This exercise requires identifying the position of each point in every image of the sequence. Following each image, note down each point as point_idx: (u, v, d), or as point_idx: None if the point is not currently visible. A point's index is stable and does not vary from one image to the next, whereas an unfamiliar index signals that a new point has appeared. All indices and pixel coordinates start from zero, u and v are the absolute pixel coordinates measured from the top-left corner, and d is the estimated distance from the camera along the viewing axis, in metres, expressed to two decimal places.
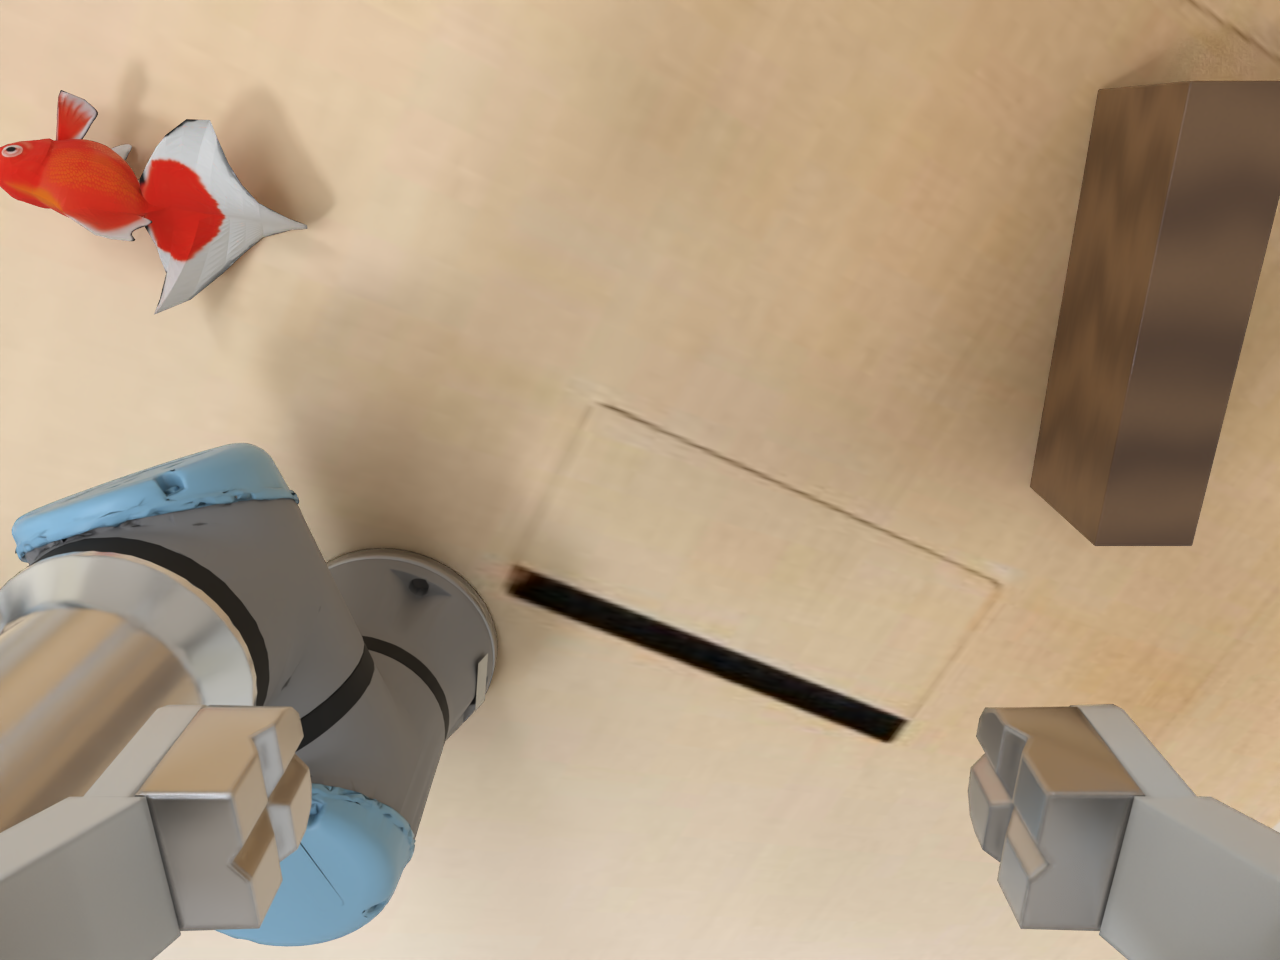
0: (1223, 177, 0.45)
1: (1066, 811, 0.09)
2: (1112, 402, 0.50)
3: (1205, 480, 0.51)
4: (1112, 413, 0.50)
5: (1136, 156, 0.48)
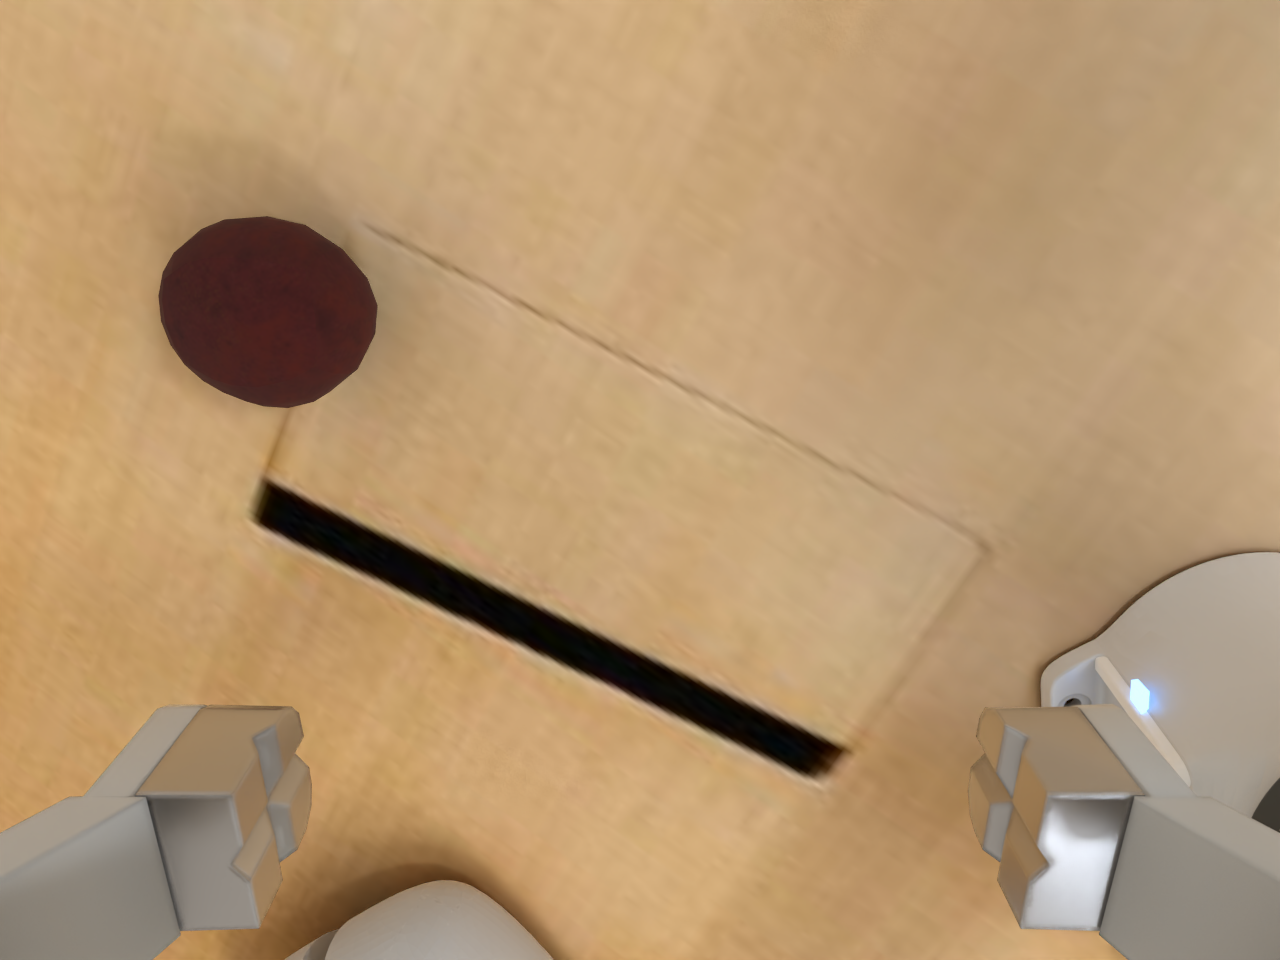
0: None
1: (1066, 811, 0.09)
2: None
3: None
4: None
5: None
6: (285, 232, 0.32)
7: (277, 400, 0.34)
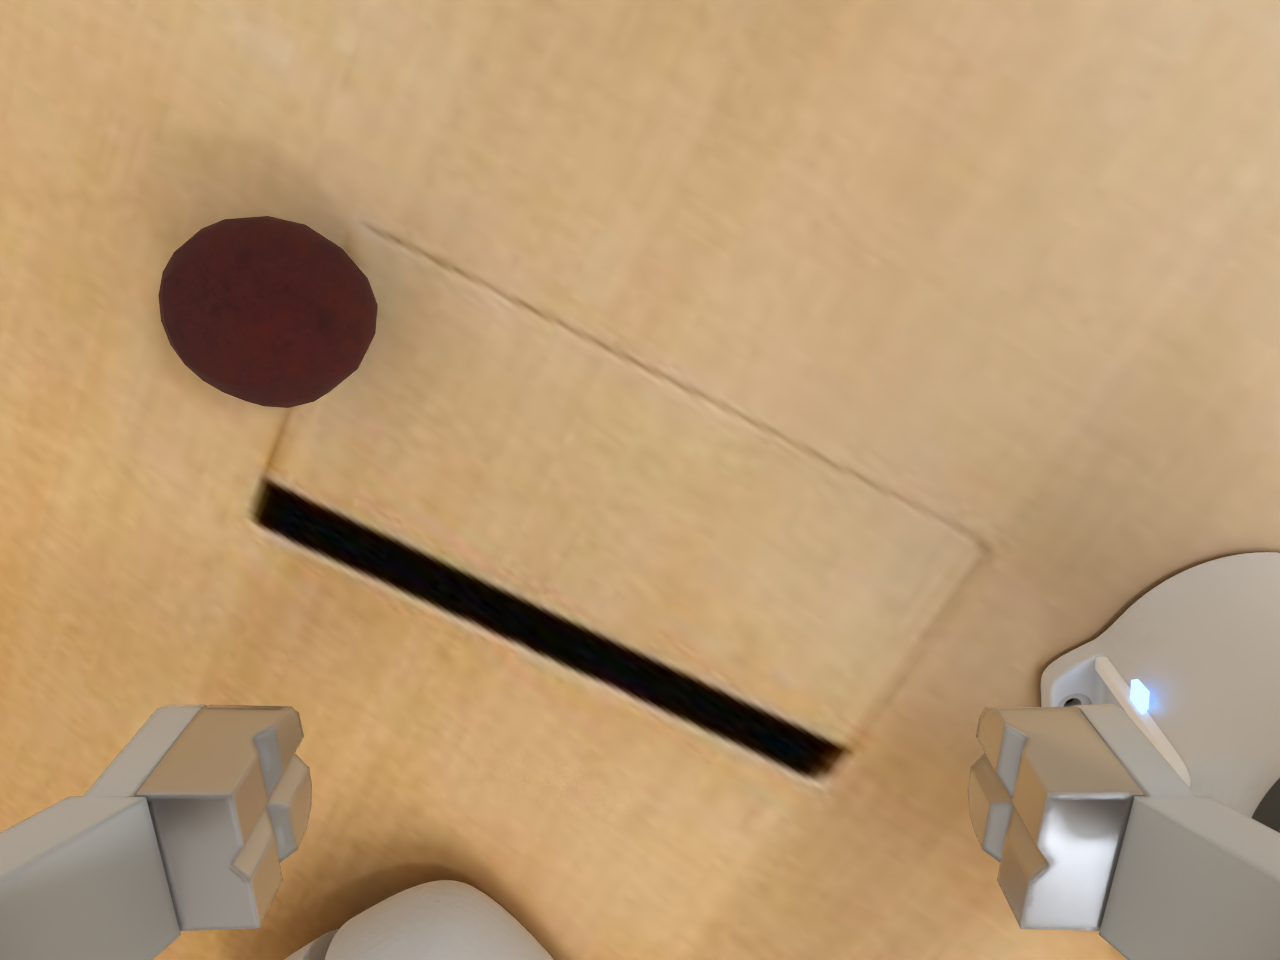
0: None
1: (1066, 811, 0.09)
2: None
3: None
4: None
5: None
6: (285, 231, 0.32)
7: (277, 400, 0.34)
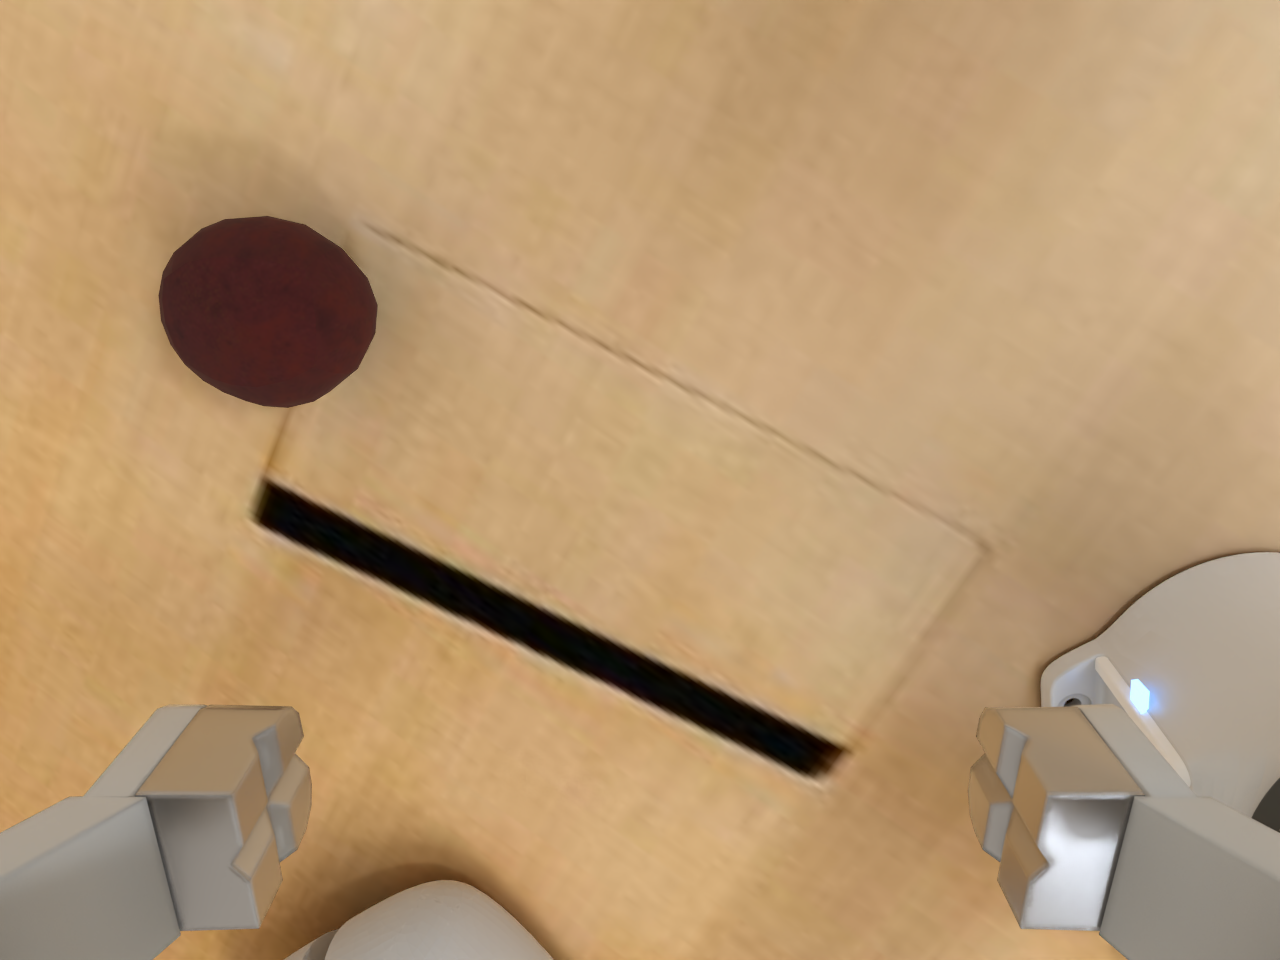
0: None
1: (1066, 812, 0.09)
2: None
3: None
4: None
5: None
6: (285, 231, 0.32)
7: (277, 400, 0.34)
